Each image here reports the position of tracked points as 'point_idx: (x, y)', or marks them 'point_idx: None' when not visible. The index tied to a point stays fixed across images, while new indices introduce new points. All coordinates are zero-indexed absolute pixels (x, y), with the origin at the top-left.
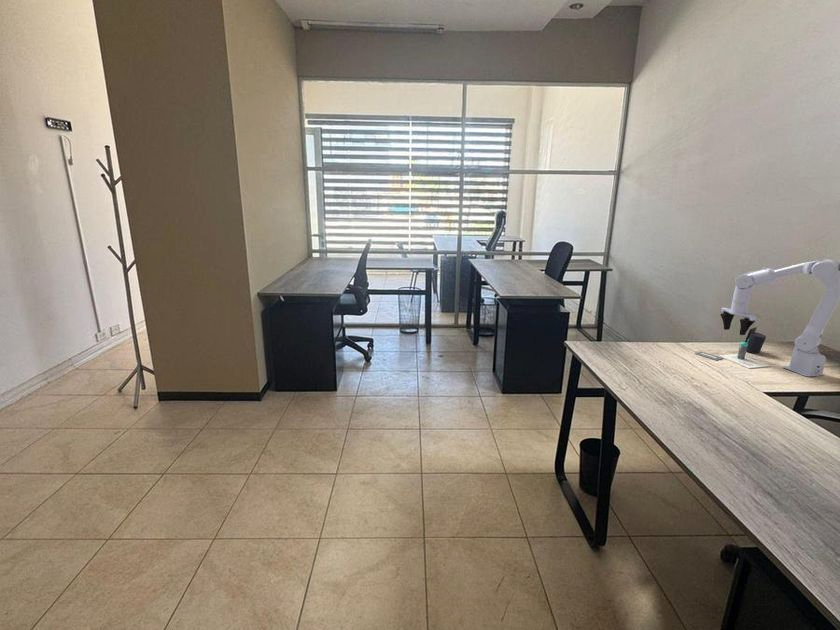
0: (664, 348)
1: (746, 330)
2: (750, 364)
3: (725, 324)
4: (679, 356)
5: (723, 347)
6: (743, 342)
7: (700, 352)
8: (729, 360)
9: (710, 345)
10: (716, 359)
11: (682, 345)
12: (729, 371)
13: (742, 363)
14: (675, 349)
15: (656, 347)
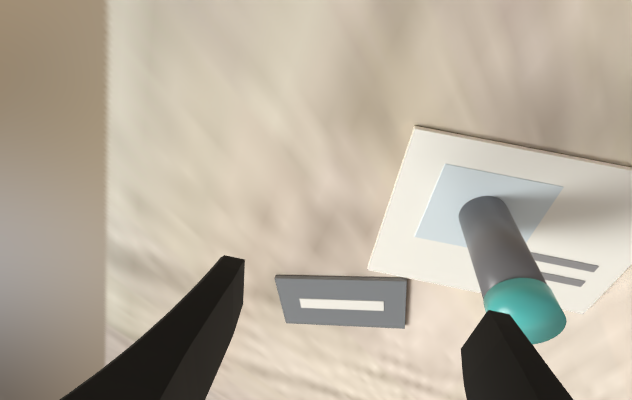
0: None
1: (546, 386)
2: (575, 266)
3: (209, 381)
4: (290, 379)
5: (239, 51)
6: (518, 319)
7: (287, 296)
8: (447, 283)
9: (173, 108)
10: (400, 322)
11: (153, 263)
12: None
13: None
14: None
15: None
